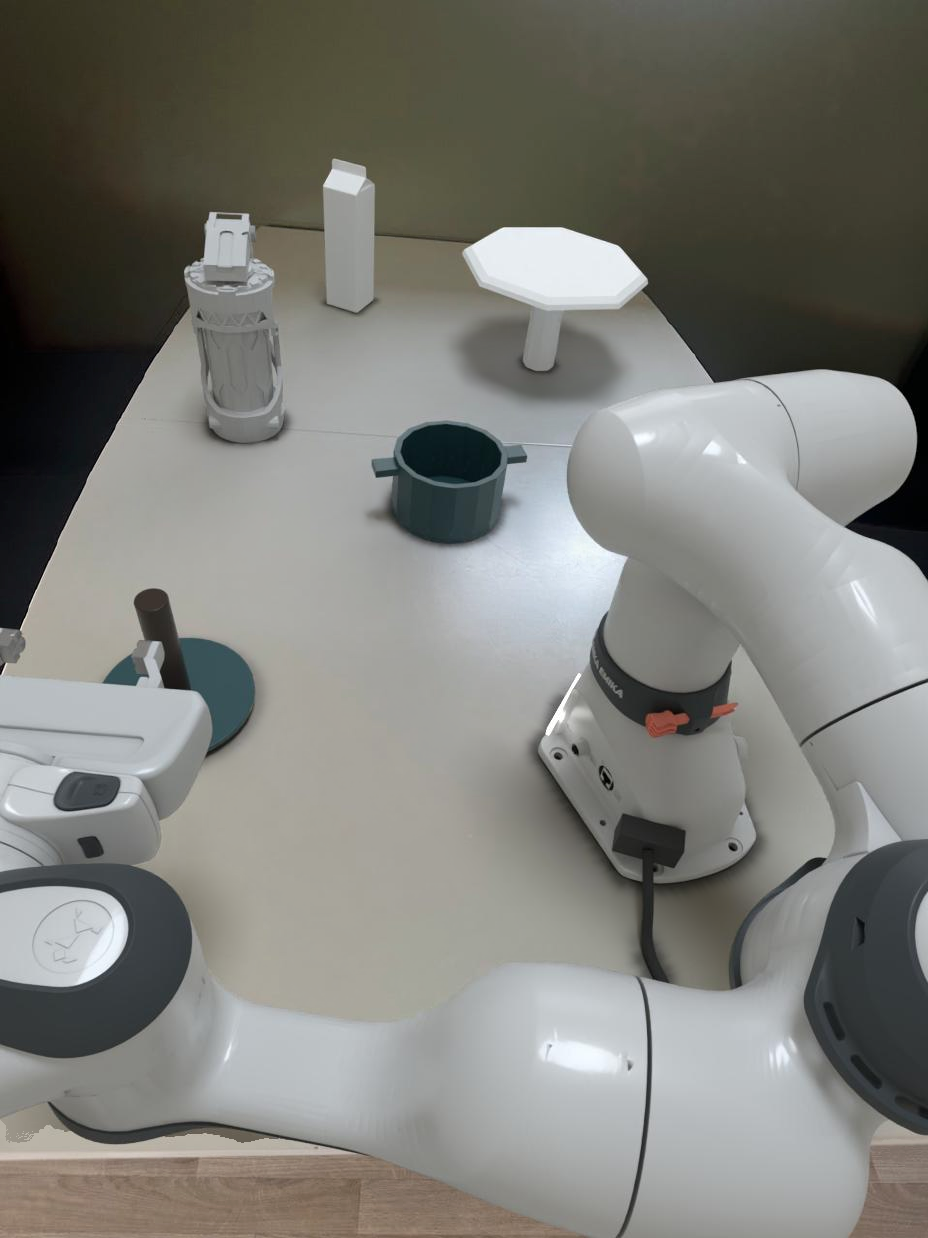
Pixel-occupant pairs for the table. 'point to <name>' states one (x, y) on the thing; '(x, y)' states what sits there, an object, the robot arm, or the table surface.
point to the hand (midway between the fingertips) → (82, 640)
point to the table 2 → (553, 279)
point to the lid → (192, 667)
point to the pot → (448, 480)
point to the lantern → (236, 333)
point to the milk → (349, 236)
